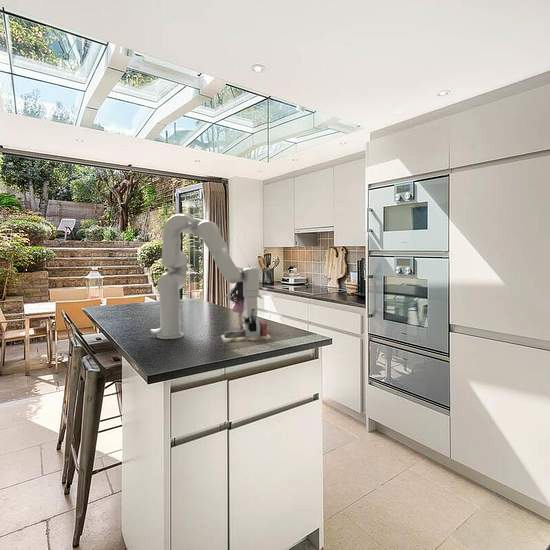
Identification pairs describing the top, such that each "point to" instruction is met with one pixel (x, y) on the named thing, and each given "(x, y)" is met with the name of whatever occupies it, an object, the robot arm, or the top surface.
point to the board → (240, 335)
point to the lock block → (247, 333)
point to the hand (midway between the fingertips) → (250, 329)
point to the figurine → (238, 300)
